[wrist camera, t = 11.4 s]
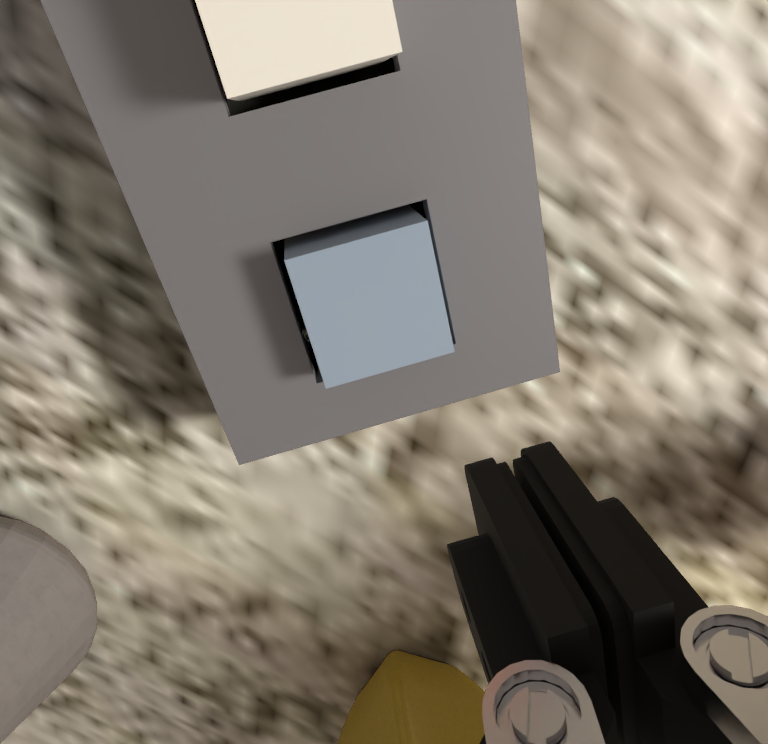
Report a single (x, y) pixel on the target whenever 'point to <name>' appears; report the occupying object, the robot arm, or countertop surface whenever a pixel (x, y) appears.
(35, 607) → the coffee pot
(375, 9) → the key white
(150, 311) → the countertop surface
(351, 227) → the key blue
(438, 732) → the flower pot
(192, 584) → the countertop surface
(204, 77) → the console
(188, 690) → the countertop surface
